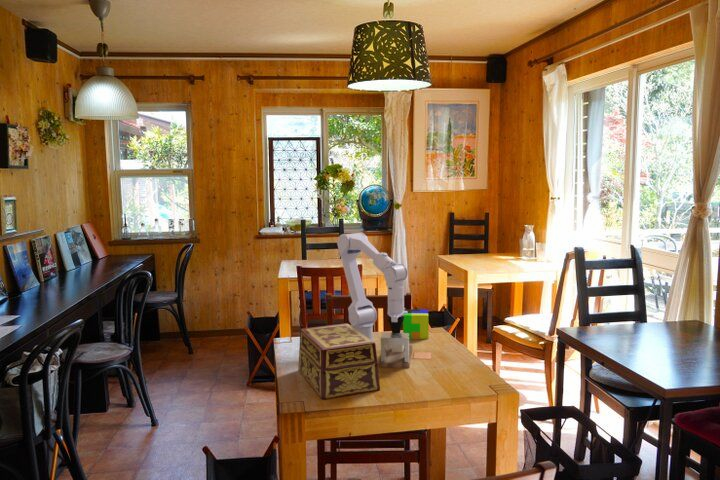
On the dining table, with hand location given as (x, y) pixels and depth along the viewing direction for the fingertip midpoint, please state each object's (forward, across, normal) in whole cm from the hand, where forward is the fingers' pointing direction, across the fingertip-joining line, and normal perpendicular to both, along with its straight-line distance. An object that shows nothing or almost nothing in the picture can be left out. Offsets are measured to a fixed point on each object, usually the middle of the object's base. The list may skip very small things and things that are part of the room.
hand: (396, 337), depth 196 cm
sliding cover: (+6, -5, 0) cm, 8 cm away
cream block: (+8, +5, 0) cm, 9 cm away
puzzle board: (+8, +1, 0) cm, 8 cm away
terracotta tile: (+8, +4, -9) cm, 13 cm away
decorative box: (+9, -21, +17) cm, 29 cm away
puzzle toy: (+9, +30, -5) cm, 32 cm away
